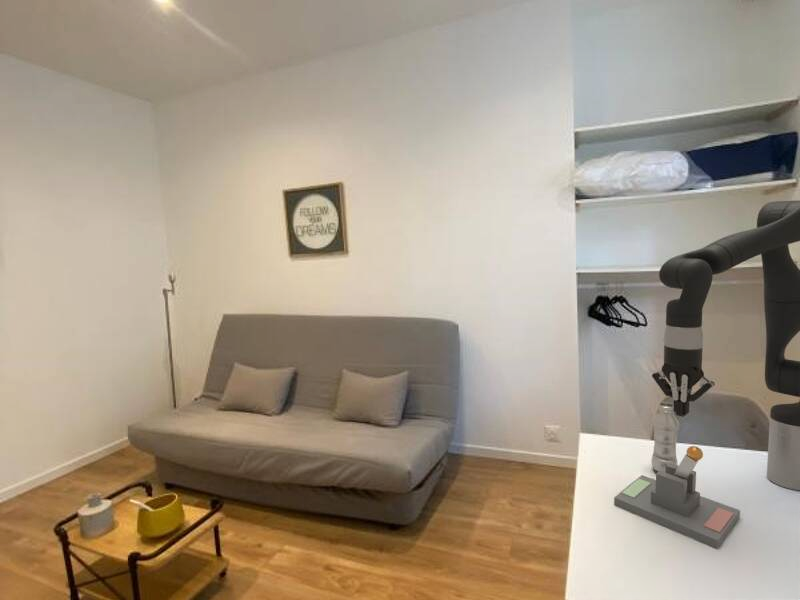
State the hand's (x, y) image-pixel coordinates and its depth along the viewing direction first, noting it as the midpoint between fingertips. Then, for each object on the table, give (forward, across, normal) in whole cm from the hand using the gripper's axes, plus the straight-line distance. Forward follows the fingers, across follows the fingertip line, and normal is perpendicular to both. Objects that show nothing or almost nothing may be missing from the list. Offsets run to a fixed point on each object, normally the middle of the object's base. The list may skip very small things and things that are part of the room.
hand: (680, 415), depth 104 cm
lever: (+19, +1, +1) cm, 19 cm away
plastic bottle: (+25, +10, -17) cm, 32 cm away
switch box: (+24, 0, +1) cm, 25 cm away
